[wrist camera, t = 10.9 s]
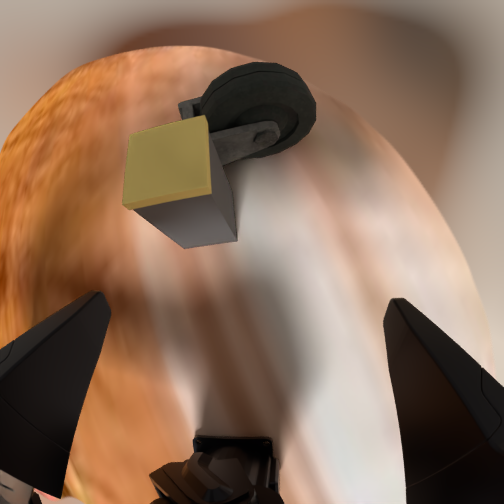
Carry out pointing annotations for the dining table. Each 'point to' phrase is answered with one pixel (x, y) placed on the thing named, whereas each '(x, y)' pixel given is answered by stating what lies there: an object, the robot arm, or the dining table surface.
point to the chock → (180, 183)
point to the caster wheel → (254, 110)
